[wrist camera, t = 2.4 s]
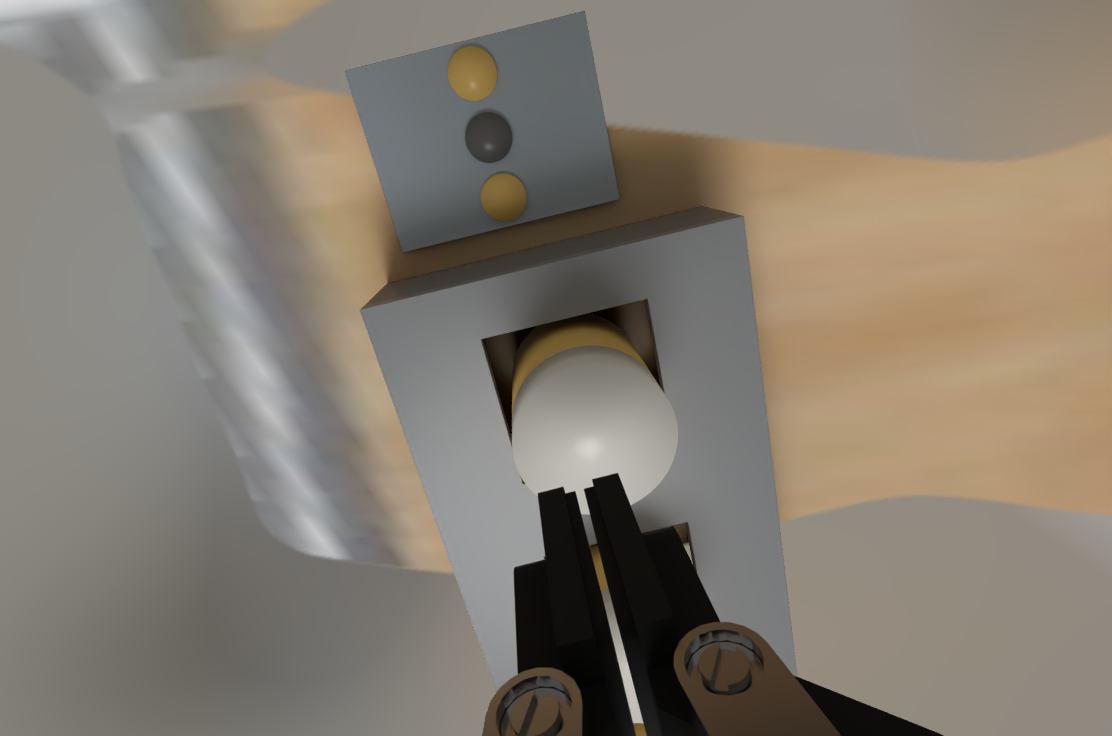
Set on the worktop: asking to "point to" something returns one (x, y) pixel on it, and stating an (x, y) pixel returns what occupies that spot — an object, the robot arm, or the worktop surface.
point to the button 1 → (588, 411)
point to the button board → (685, 378)
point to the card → (487, 131)
